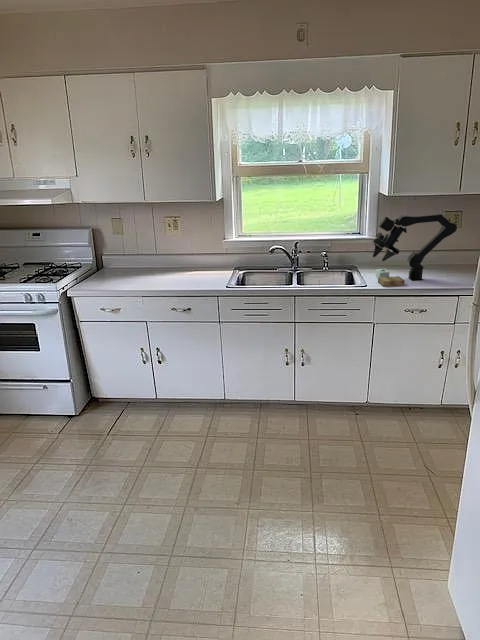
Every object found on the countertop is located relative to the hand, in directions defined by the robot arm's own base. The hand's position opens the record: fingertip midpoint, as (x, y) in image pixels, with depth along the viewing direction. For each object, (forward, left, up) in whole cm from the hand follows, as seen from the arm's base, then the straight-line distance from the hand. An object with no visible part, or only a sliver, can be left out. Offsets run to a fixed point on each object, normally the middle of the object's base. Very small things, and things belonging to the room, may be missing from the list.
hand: (378, 259), depth 276 cm
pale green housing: (-4, -1, -12) cm, 13 cm away
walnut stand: (-5, +11, -12) cm, 17 cm away
